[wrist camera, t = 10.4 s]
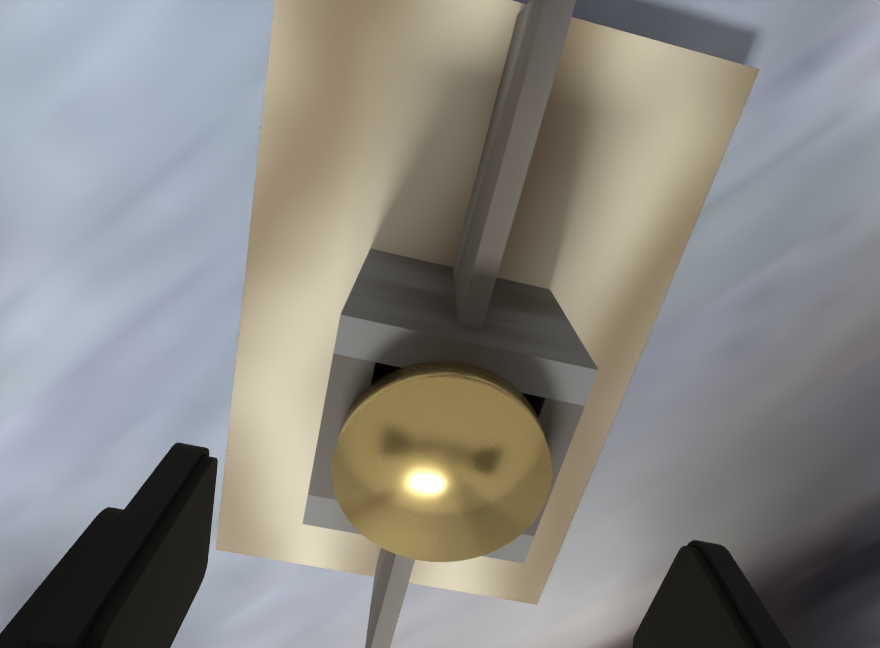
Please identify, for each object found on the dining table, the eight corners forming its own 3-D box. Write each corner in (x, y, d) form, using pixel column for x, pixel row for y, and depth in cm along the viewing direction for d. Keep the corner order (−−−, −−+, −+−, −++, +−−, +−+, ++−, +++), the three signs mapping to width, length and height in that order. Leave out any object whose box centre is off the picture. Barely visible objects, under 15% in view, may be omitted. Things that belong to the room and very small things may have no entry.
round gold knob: (536, 311, 18) (582, 407, 12) (493, 442, 20) (516, 577, 14) (379, 276, 17) (352, 359, 12) (351, 414, 19) (316, 542, 14)
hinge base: (741, 70, 17) (932, 52, 10) (533, 586, 25) (567, 755, 18) (291, -54, 16) (186, -165, 9) (224, 531, 24) (144, 694, 17)
